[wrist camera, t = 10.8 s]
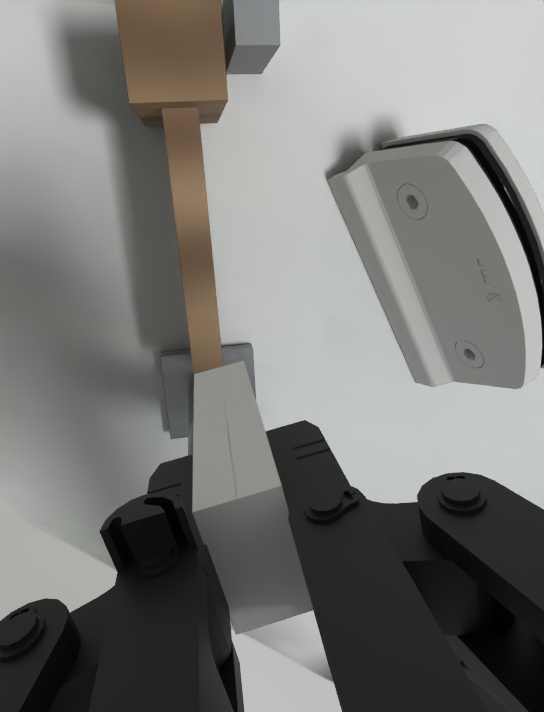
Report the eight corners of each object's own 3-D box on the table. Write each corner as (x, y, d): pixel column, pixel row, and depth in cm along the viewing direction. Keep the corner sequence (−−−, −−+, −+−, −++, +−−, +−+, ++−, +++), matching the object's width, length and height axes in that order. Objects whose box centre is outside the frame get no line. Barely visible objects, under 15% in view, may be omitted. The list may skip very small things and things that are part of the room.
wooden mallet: (236, 353, 32) (251, 403, 25) (176, 359, 32) (172, 413, 24) (210, 40, 26) (219, -17, 18) (135, 42, 25) (112, -17, 18)
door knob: (255, 422, 34) (306, 603, 20) (171, 431, 34) (157, 628, 19) (251, 343, 32) (303, 479, 17) (160, 351, 31) (135, 501, 17)
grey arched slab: (324, 174, 29) (450, 131, 21) (378, 140, 31) (517, 87, 22) (417, 386, 36) (544, 423, 27) (459, 350, 37) (593, 374, 28)
